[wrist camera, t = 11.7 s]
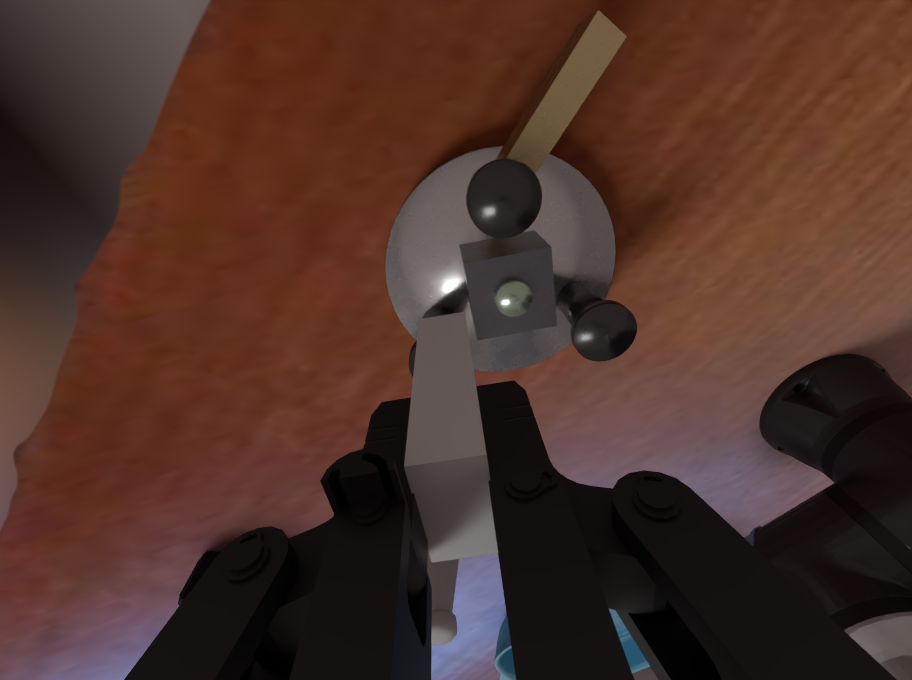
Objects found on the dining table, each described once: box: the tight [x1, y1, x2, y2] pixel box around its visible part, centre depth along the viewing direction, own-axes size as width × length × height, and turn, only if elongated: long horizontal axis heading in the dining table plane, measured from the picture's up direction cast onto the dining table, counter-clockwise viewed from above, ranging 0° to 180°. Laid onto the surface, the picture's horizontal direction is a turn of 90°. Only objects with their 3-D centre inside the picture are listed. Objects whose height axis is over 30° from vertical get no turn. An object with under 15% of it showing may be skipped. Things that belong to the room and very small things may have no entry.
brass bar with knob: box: [466, 10, 627, 238], centre depth 30 cm, size 15×5×8 cm, turn 148°
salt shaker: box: [427, 552, 459, 645], centre depth 53 cm, size 6×6×13 cm
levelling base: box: [386, 146, 637, 376], centre depth 36 cm, size 22×22×10 cm
